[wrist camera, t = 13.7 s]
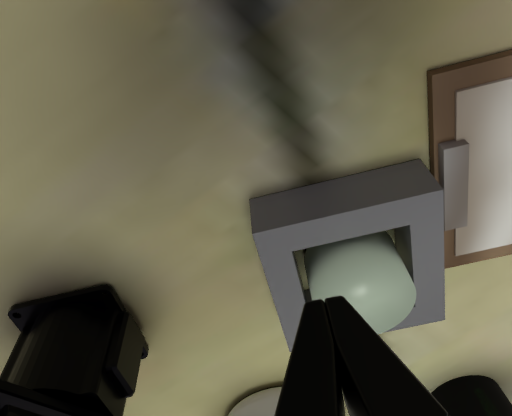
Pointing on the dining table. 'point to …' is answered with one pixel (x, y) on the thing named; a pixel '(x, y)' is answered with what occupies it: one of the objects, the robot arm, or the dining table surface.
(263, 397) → the wine bottle
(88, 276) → the dining table surface
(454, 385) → the cup
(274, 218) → the button housing
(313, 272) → the button
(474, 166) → the clipboard
